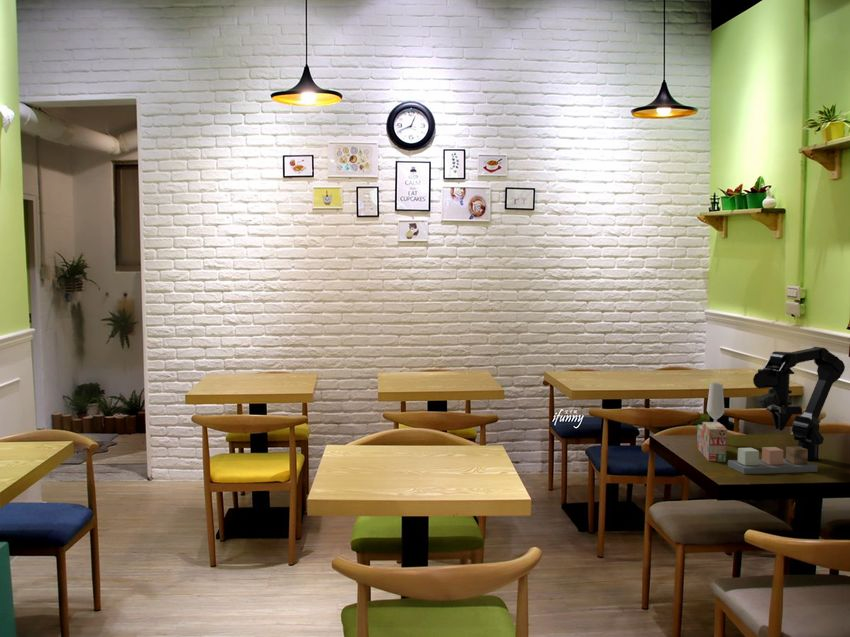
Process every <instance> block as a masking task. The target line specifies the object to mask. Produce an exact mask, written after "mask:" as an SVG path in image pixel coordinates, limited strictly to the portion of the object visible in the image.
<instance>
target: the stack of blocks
mask: <svg viewBox="0 0 850 637" xmlns="http://www.w3.org/2000/svg"><path fill="white" fill-rule="evenodd" d="M701 423H702V424H697V425H696V433H697V434H696V441H697V442H696V448H697V449H698V450H699V452H700V453H701V454H702V455H703V456H704V457H705V459H706V460H707V462H719V463H720V462H721V463H727V445H728V442H727V441H728V438H727V437H728V429H727V428H726V426H724V425H723V424H721V423H720V421H719V422H718V421H717V422H714V421H702V422H701Z"/></svg>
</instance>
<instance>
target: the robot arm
mask: <svg viewBox="0 0 850 637" xmlns="http://www.w3.org/2000/svg"><path fill="white" fill-rule="evenodd" d="M810 361H813V362H814V364H815V365H816V366H817V369H816V373H817V377H818V378H817V381H816V383H815V385H814V388H813V391H812V393H811V395H810V398H809V400H808V403H807V405H806V407H805V410H804V413H803V408H802V407H801V406H800V405H797V404H792V401H790V394H793V393H792V392H793V391H792V390H791V389H790V378H791V375H794V374H795V371H793V370H792V369H791V368H794V367H796V365H797V364H799V363H800V364H801V363H805V362H810ZM845 368H846V366H845V363H844V361H843V360H842V359H840V358H839V357H838V356H836V355H835V354H833V353H831V352H830V351H829V350H828V349H827V348H825V347H823V346H822V347H820V346H813V347H811V348H810V347H809V348H805V349H801V350H796V351H795V350H794V351H776V350H775V351H772V353H770V356H769V358H768V359H767V361H766V363H765V364H764V367H763V368H762V369H761V368H759V369H757V372H756V373H755V374H754V376H753V377H752V380H753V381H752V382H753V385H754V386H755V387H756V388H757V389H768V390H767V391H768V393H765V394H762V395H759V396H757V397H755V398H754V399H755V402H756V404H757V405H756V406H757V407H758V408H761V409H765V410H766V411H767V412H768V413H769V414H770V415H771V418H772V422H773V424H774V427H775V430H779V432H780V431H784V429H785V428H786V426H787V424H788V423H789V420H790V419H791V417H792V416H794V415H795V418H794V420H793V422H792V424H791V426H792V427H791V431H792V435H793V439H794V441H797V445H796V446H800V447H802V448H805V449H808V459H807V461H822V458H820V457H819V451H820V450H819V448H820V447H819V446H820V445H822V444H823V443H824V440H825V438H824V437H823V435H822V434H821V433H820V432H819V431H820V427H821V426H820V421H819V417H820V416H821V413H822V410H823V407H824V405H825V403H826V401H827V398H828V395H829V393H830V391H831V388H832V386H833V384H834V383H836V382H837V381H838V380H839V379H840V378H841V377H842V376H843V373H844V372H845Z"/></svg>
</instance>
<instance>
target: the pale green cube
mask: <svg viewBox="0 0 850 637" xmlns="http://www.w3.org/2000/svg"><path fill="white" fill-rule="evenodd" d="M759 459H760V451H759V450H758V449H756V448H753V447H738V448H737V460H738V462H739V463H741V464H743V465H745V466H749V465H759Z"/></svg>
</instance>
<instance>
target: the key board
mask: <svg viewBox="0 0 850 637" xmlns="http://www.w3.org/2000/svg"><path fill="white" fill-rule="evenodd" d="M727 466H728V467H729V468H731V469H732V470H733V469H734V470H735V471H737V472H738V473H741V474H743V475H755V474H760V475H761V474H787V473H791V474H793V473H815V472H819V466H818V465H816V464H814V463H812V462H810V461H807V464H792V463H790V462H788V461H786V458H783V464H781V465H769V464H767V463H764V462H762V458H761V459H760V458H759V465H749V466H745V465H743V464H741V463H739V462H738V459H728V460H727Z"/></svg>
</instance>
